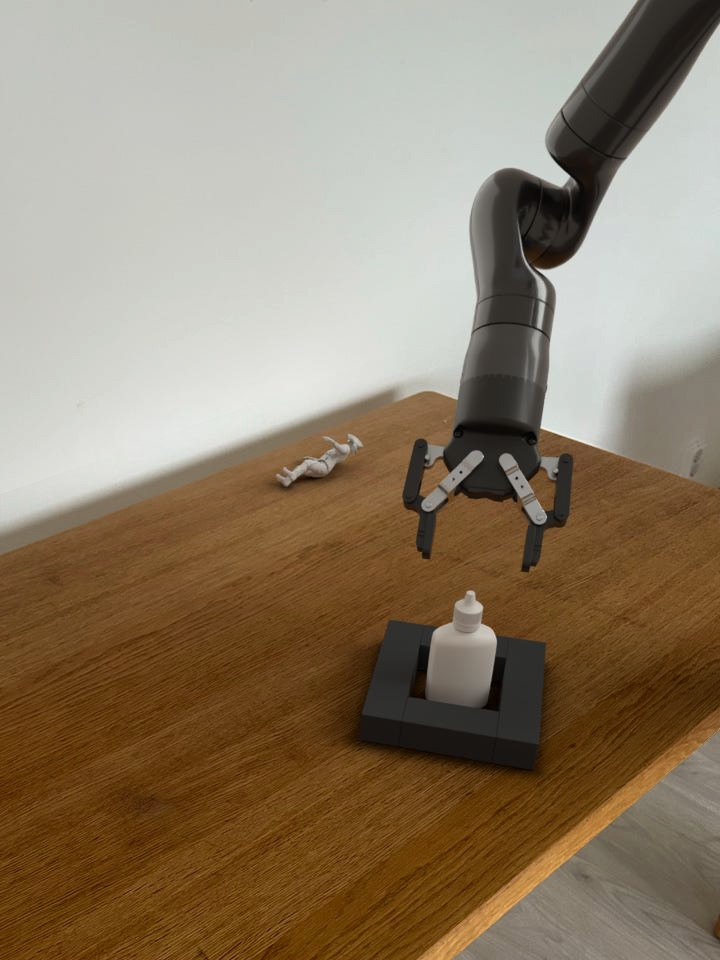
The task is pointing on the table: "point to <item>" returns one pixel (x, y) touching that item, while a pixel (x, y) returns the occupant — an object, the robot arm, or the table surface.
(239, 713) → the table surface
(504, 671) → the black rectangular frame
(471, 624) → the eye dropper bottle
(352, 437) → the soldier figure
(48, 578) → the table surface
